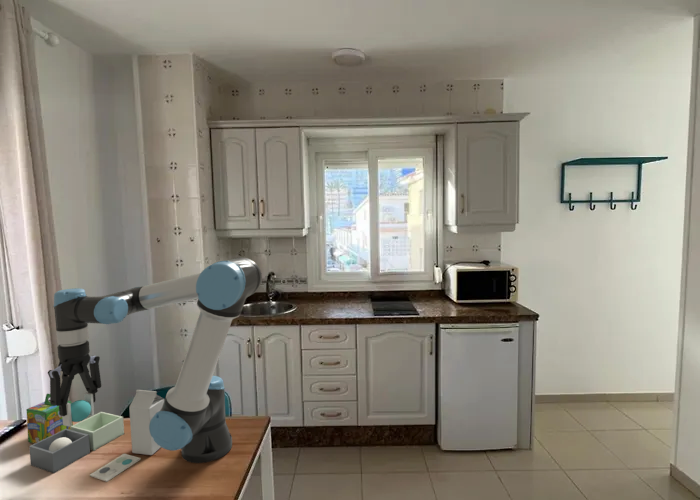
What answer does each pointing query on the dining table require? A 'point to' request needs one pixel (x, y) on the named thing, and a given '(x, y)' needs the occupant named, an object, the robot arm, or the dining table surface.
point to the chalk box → (44, 421)
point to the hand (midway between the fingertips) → (79, 419)
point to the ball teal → (80, 410)
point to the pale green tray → (100, 428)
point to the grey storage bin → (59, 451)
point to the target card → (115, 467)
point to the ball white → (59, 443)
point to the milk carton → (144, 421)
